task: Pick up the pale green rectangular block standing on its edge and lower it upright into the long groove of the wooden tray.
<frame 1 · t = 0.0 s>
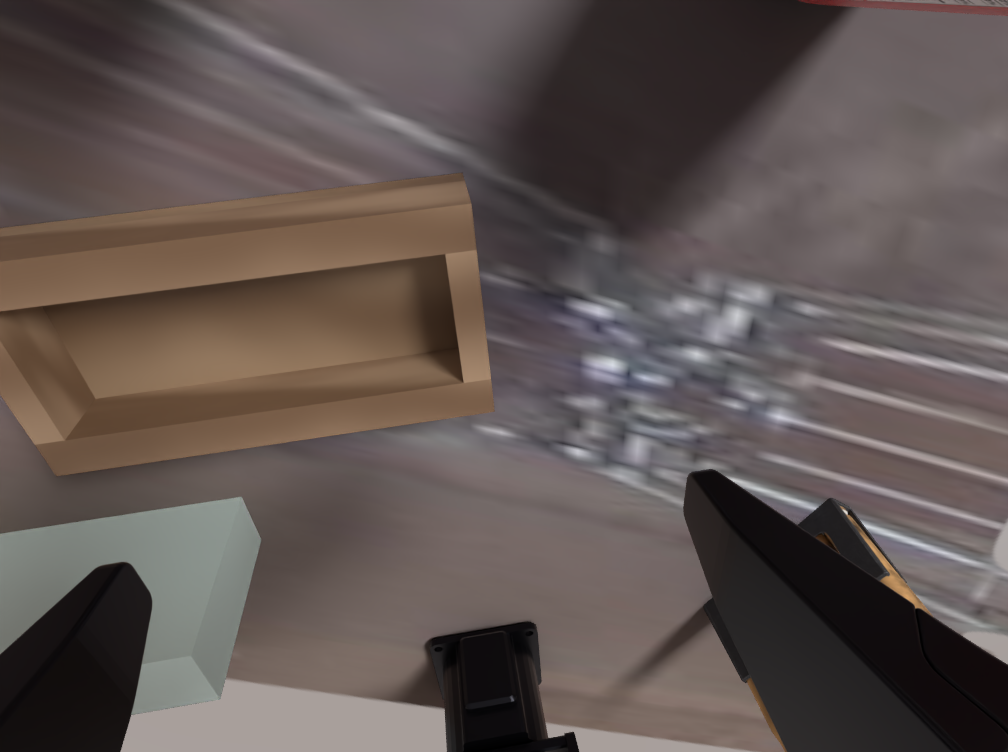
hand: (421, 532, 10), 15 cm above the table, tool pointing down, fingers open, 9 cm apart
ammunition clip: (770, 556, 36), on the table
pale green rectangular block: (123, 537, 28), on the table
wooden tray: (266, 304, 23), on the table
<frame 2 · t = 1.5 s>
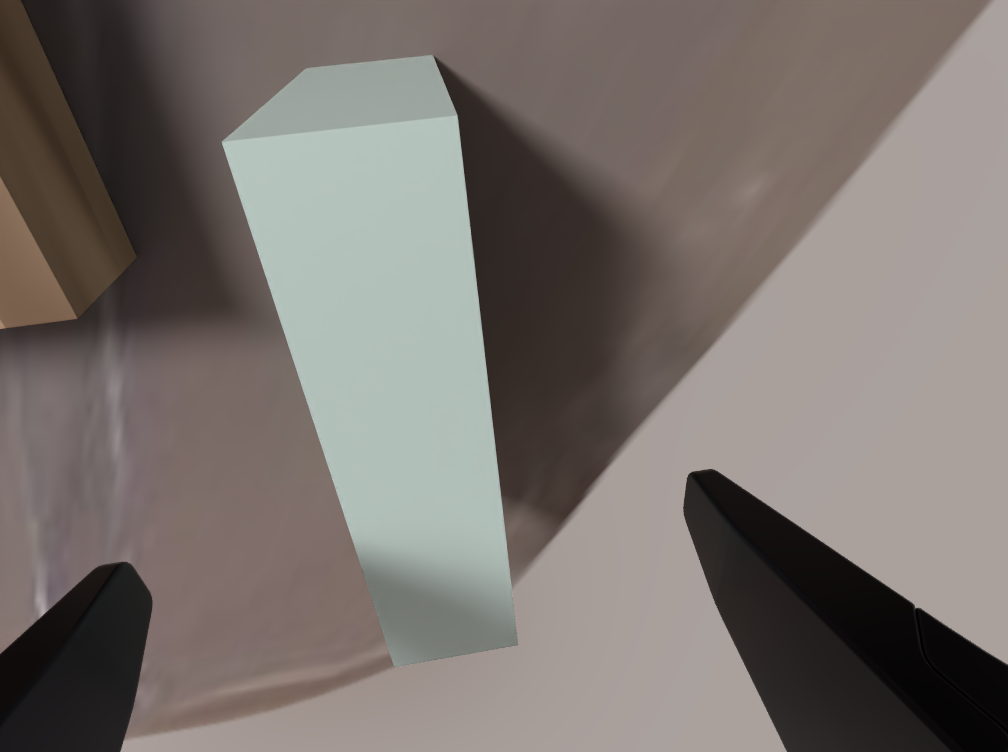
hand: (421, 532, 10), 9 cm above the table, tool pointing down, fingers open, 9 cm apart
pale green rectangular block: (411, 288, 18), on the table
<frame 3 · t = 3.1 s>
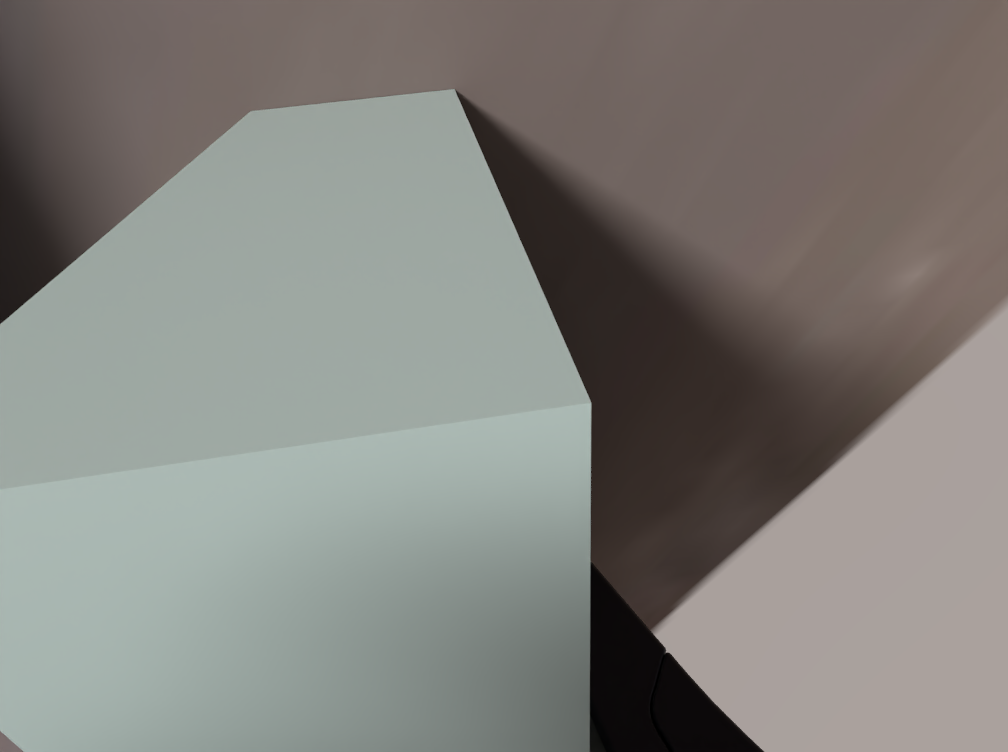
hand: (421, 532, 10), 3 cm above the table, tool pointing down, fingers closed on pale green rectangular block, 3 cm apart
pale green rectangular block: (418, 417, 12), on the table, touching gripper
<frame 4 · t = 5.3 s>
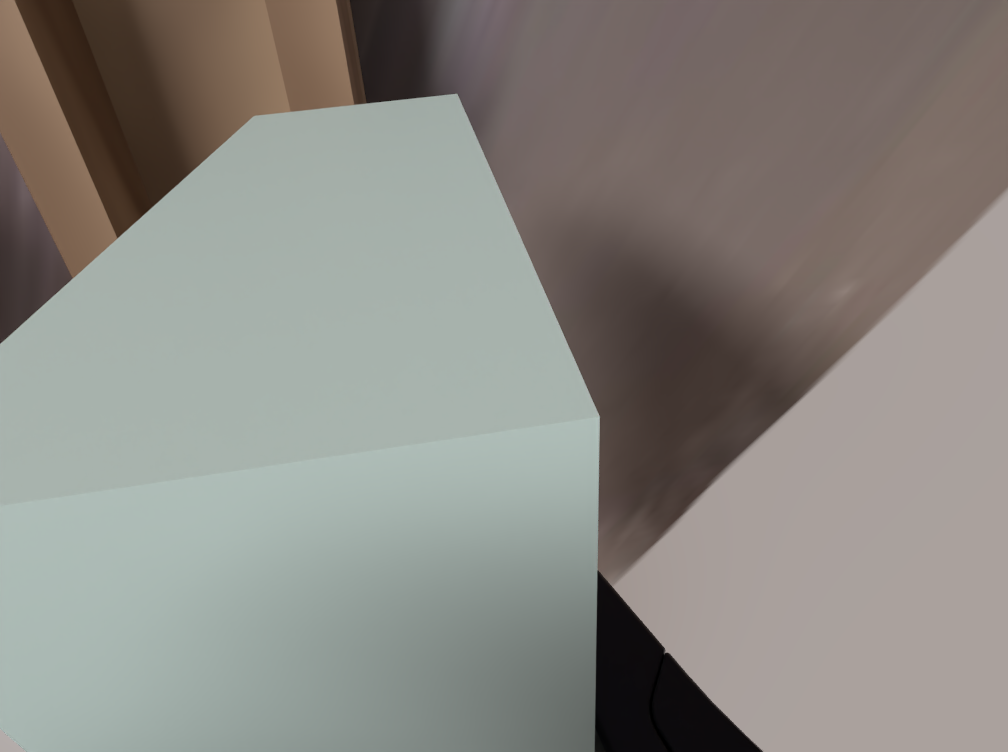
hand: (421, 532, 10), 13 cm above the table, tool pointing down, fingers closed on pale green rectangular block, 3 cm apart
pale green rectangular block: (420, 420, 12), point 10 cm above the table, touching gripper
wooden tray: (223, 105, 17), on the table
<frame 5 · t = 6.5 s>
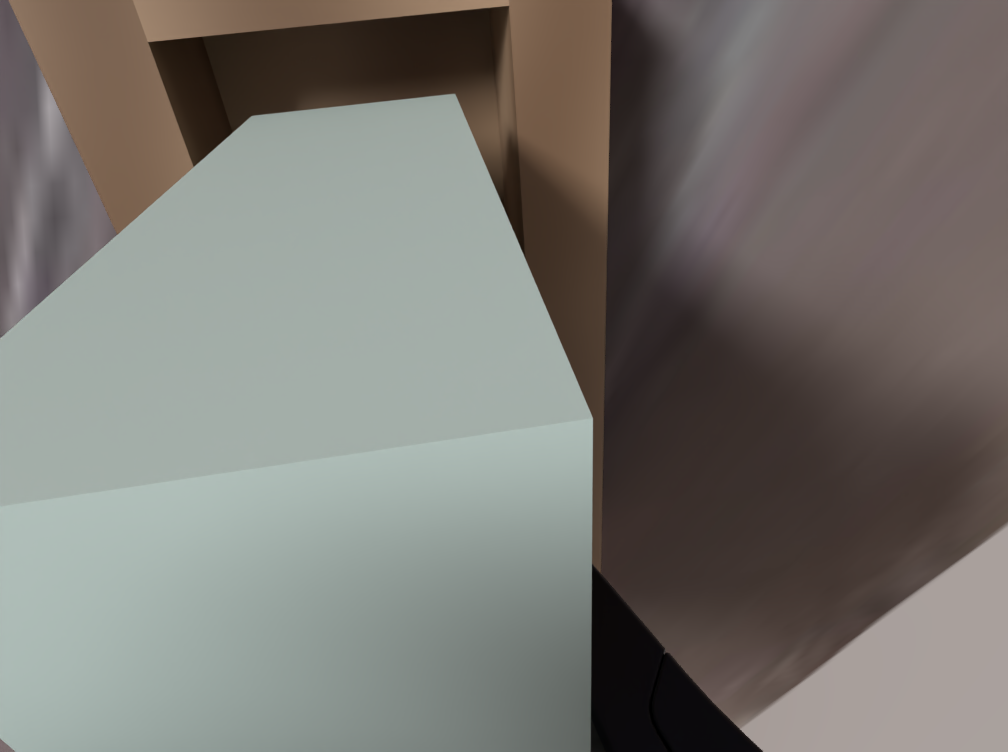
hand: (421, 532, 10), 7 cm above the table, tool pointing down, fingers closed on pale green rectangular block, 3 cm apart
pale green rectangular block: (418, 420, 12), point 4 cm above the table, touching gripper
wooden tray: (412, 333, 15), on the table
when the fingers open (5 cm above the table, at t = 7.5 s): pale green rectangular block stays where it is, resting on wooden tray.
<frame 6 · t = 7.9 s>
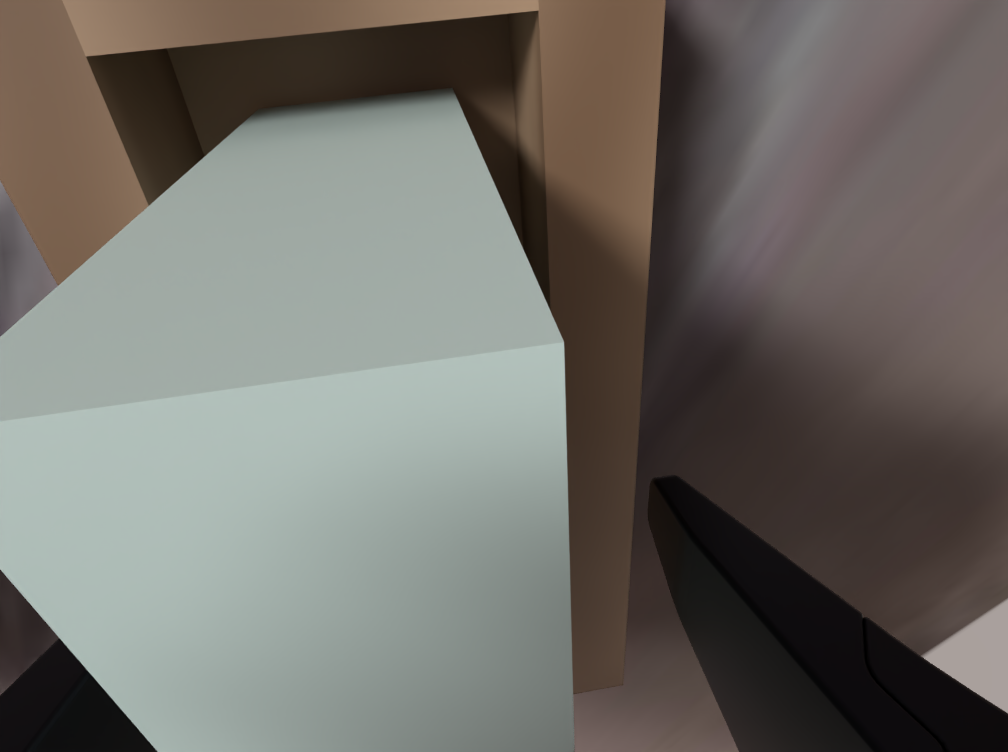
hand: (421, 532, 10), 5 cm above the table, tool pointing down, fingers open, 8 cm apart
pale green rectangular block: (418, 404, 13), point 1 cm above the table, touching wooden tray
wooden tray: (415, 376, 13), on the table
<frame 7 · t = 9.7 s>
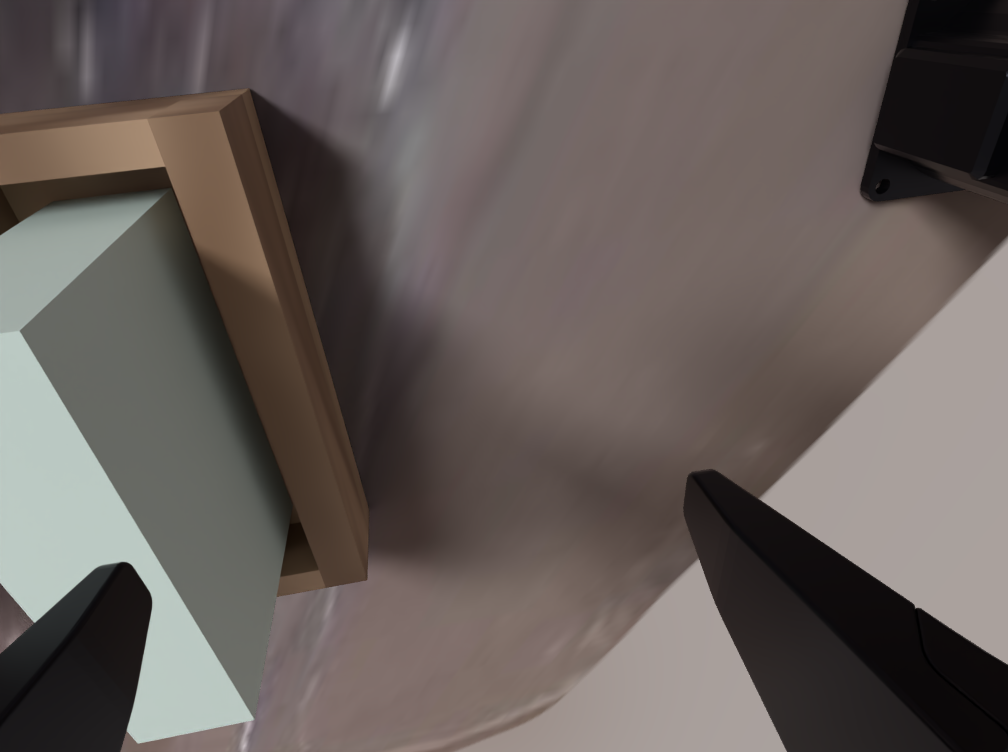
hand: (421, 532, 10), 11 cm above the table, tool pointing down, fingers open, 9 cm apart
pale green rectangular block: (194, 381, 19), point 1 cm above the table, touching wooden tray
wooden tray: (201, 363, 20), on the table
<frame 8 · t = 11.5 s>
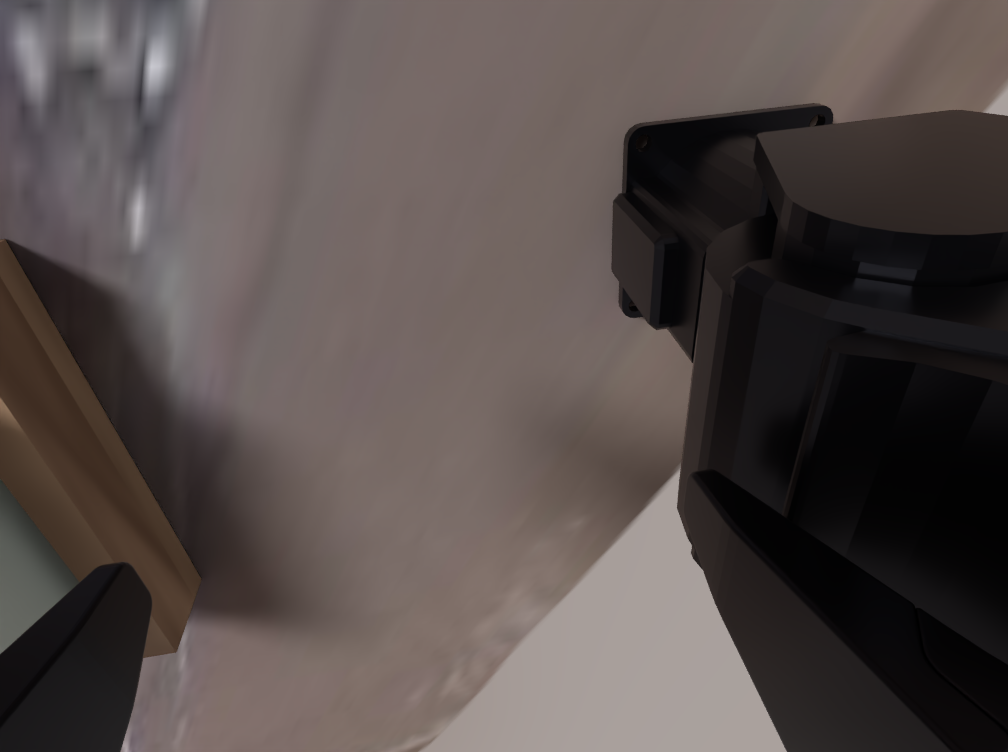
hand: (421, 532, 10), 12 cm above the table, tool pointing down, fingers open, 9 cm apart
wooden tray: (11, 459, 22), on the table
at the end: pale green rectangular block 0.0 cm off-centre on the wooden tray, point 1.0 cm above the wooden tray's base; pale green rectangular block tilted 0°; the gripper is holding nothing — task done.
